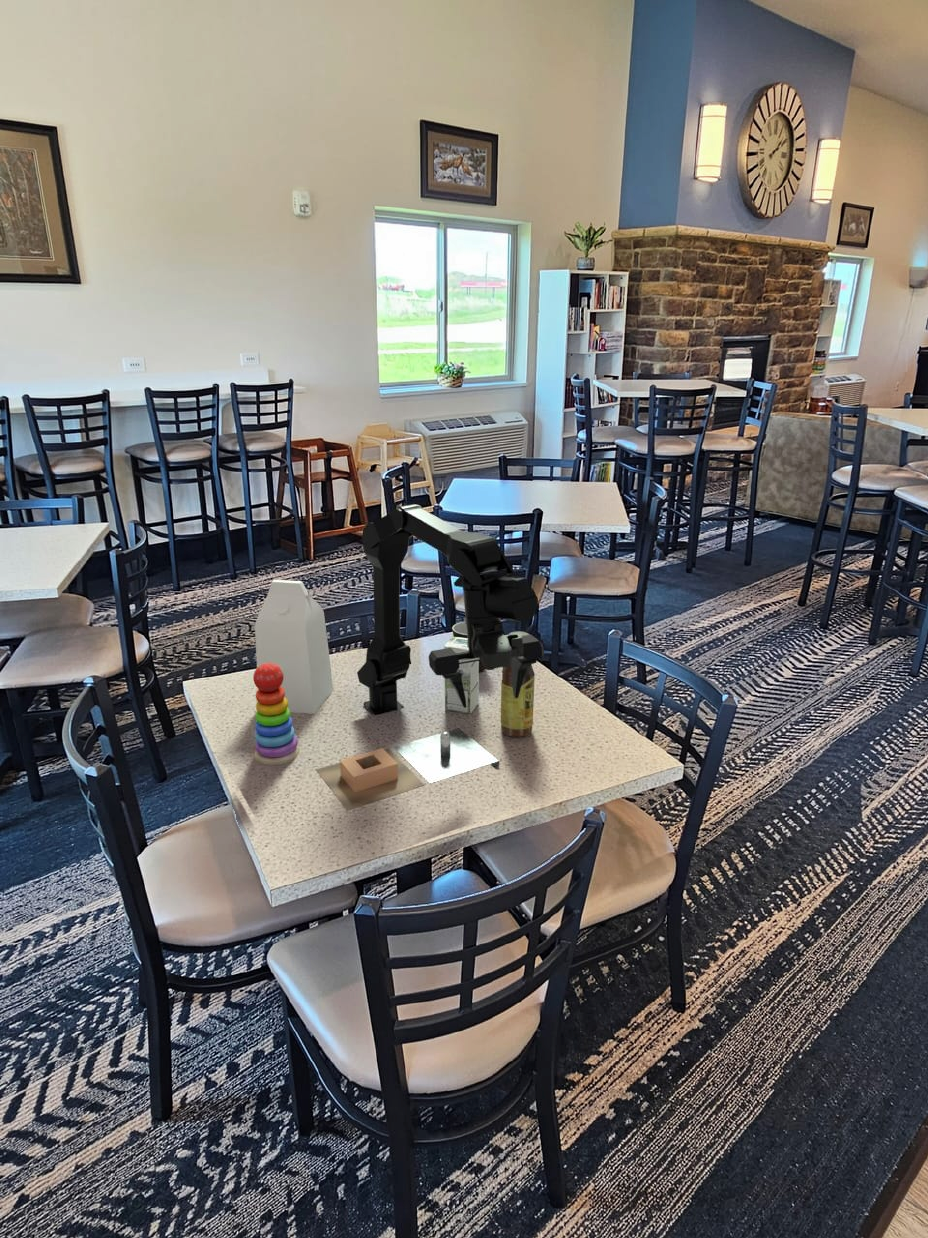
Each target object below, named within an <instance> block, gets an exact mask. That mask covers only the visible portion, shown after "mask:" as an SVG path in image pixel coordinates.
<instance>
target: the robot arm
mask: <svg viewBox="0 0 928 1238" xmlns="http://www.w3.org/2000/svg"><path fill="white" fill-rule="evenodd" d="M413 536H414V537H415V538H417V539H418V540H419V541H422V542H423V543H425V544H427V545H429V546H430V547H432V548H433V549H435V550H437V551H439V552H440V553H442V554H443V555H444V556H446V560H447V563H448V565H449V567H451V568H453V570H455V572H457V573H458V574H459V576H458V577H457V579H456V580H455V581H454V582H453V585H454V587H457V588H458V587H459V588H462V595H463V605H464V614H465V618H464V622H465V624H466V627H467V638H468V641H467V647H468V648H469V651H466V652H460V653H455V652H454V651H453V650H452V648H446V649H444V648H441V649H436V650H431V651H430V653H429V654H428V662H429V663H428V664H429V667H430V669H431V670H432V672H433V673H434V674H435V676H441V677H442V678H443V679H445V678H446V679H448V678H449V679H450V681H451V683H452V684H453V687H454V689H455V691H456V693H457V695H458V697H459V699H460V701H461V704H462V706H463V707H464V708H466V698H465V693H464V688H463V684H462V673H461V672H460V671H459V670H458V669H459V668H460V667H459V664H464V663H470V662H476V661H481V663H482V666H483V668H484V669H485V671H493V670H495V669H500V668H503V667H510V666H511V670H512V688H513V693H514V697H515V698H518V696H519V693H520V689H521V686H522V682H523V679H524V676H525V673H526V671H527V669H528V668H529V667H530V666H531V665H534V664H536V663H537V662H538V660H537V659H543V658H544V657H545V649H544V645H543V642H541V641H540V640H539V639H537V638H536V637H535V636H533V635H532V634H529V635H525V636H521V635H520V633H517V634H511V635H509V634H506V633H505V631H504V625H503V621H502V620H509V621H514V622H517V623H528V622H529V621H531V620H532V618H534V616H535V615H536V613H537V610H538V606H539V597H538V596H537V594H536V593H537V592H536V591H535V590H534V589H533V587H531V586H529V585H528V578H526V577H516V573H515V570H514V569H513V566H512V565H511V563H510V562H509V560H508V558H507V557H506V555H505V554H504V552H503V550H502V548H501V546H500V543H499V542H498V540H497V539H495V537H493V536H490V535H487V534H485V533H484V534H483V533H480V532H472V531H464V530H460V528H458V527H456V526H454V525H452V524H450V523H448V522H446V521H445V520H443V519H441V518H439V517H438V516H436V515H434V514H432V513H431V512H428V511H427V510H425V509H424V508H423V507H422V506H421V505H419V504H415V503H413V504H407V505H401V506H397V507H396V508H395V509H392V510H391V511H390V512H389V513H388V514H386V515H384V516H383V517H380V518H378V519H376V520H374V521H373V522H369V523H367V524H366V525H365V527H363V529H362V535H361V540H362V543H363V553H364V555H365V557H367V559H368V560H369V562H370V563H371V565H372V569H373V570H372V572H373V573H372V574H373V575H372V577H373V578H372V579H373V620H374V622H373V623H374V626H373V627H374V628H373V629H374V636H373V637H372V640H371V642H370V644H369V645H368V647H367V649H366V655H365V656H366V658H365V663H364V664H363V665H362V666H361V667H360V668H359V670H358V671H357V672H356V675H357V678H358V682H359V683H360V684H361V685H364V686H365V687H367V688H368V696H369V697H368V699H369V700H367V701H364V702H363V706H364V707H365V708H366V709H367V710H368V711H369V712H371V714H372V715H373V716H379V715H383V714H386V713H390V712H395V711H397V710H401V709H405V707H404V705H403V704H402V703H401V702H399V700H398V685H397V684H398V682H397V681H398V680H401V679H406V678H407V674H408V671H409V669H410V665H411V664H412V660H411V647H410V645H407V644H406V643H405V641H404V639H403V638H402V637H401V612H400V610H401V608H400V607H401V605H400V604H401V599H400V598H401V597H400V595H401V594H400V593H401V591H400V589H401V587H400V586H401V584H400V583H401V582H400V581H401V579H400V577H401V576H400V567H401V566H402V563H403V561H404V560H405V557H406V555H407V554H408V550H409V542H410V539H411V538H412V537H413ZM501 619H502V620H501Z"/></svg>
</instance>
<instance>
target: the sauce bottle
mask: <svg viewBox="0 0 928 1238" xmlns="http://www.w3.org/2000/svg"><path fill="white" fill-rule="evenodd" d="M517 633H520V635H521V636H525V635H530V634H529V633H528V632H525V631H512V632H509V633H508V635H511V634H517ZM532 665H533V664H532ZM532 665H531V666H530V667H529V668H528V669H527V671H526V673H525V676H524V679H523V682H522V686H521V689H520V693H519V696H518V698H515V697H514V693H513V688H512V670H511V666H510V667H502V669H501V674H502V675H501V683H500V685H501V687H500V688H501V689H500V691H501V693H500V694H501V695H500V724H501V725H500V729H501V731H502V733H503V734H505V735H506V736H509V737H515V738H523V737H525V736H528V735H529V734H530V733H531V732H532V730H533V724H534V706H535V705H534V704H535V703H534V701H535V700H534V699H535V670H534V669H533V666H532Z"/></svg>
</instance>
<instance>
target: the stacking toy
mask: <svg viewBox="0 0 928 1238" xmlns="http://www.w3.org/2000/svg"><path fill="white" fill-rule="evenodd" d="M283 678H284V677H283V672H282V670H281V669H280V667H278V666H277V665H275V664H272V663H265V664H262V665H260V666H259V667H258V668H257V667H256V669H255V671H254V673H253V678H252V679H253V683H254V685H255V687H256V688H257V690H256V692H255V699H256V701H257V702H256V704H255V708H256V712H255V715H254V716H255V718H254V719H255V723H254V729H255V732H254V739H255V745H254V747H255V751H254V755H253V756H254V759H255V761H257V762H258V763H259V764H263V765H267V766H268V765H269V766H271V765H272V766H275V765H281V764H285V763H288V762H291V761H293V760H294V759H295V758H297V757H298V755H299V754H300V751H301V749H300V746H299V745H298V744H299V739H298V737H297V736H296V734H295V729H294V727H293V719H292V717H291V712H290V710H289V709H288V701H287V699H286V698H285V691H284V689H283V688H282V687H281V685H282V682H283Z"/></svg>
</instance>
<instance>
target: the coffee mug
mask: <svg viewBox="0 0 928 1238" xmlns="http://www.w3.org/2000/svg"><path fill="white" fill-rule="evenodd" d="M451 630H452V637H460V638H467V627H466V624H465V621H460V622H457V623H455V624H454V625H452V627H451ZM484 671H486V669H484V668H483V666H482V663H481V661H479V674H481V673H483V672H484Z"/></svg>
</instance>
